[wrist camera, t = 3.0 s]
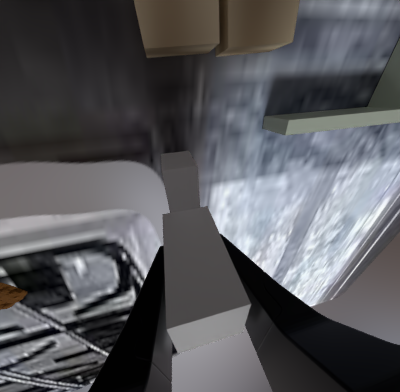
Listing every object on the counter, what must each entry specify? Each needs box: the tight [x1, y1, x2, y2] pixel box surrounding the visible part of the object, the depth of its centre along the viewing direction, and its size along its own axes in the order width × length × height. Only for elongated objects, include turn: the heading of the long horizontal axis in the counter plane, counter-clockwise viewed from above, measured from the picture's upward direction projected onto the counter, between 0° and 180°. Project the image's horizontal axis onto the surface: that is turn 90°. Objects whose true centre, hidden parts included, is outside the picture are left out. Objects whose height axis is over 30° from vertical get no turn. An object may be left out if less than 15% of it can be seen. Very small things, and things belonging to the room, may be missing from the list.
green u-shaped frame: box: [262, 39, 400, 135], centre depth 10 cm, size 12×14×3 cm
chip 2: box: [215, 0, 300, 57], centre depth 9 cm, size 4×4×2 cm
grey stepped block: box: [161, 151, 251, 354], centre depth 10 cm, size 3×9×9 cm, turn 3°
